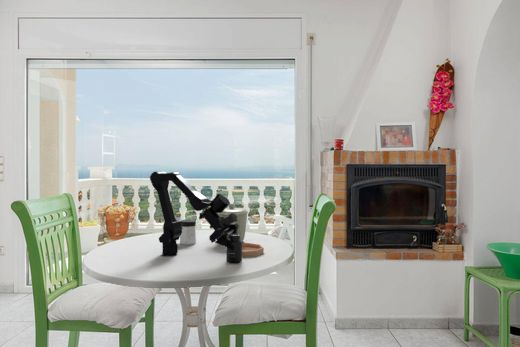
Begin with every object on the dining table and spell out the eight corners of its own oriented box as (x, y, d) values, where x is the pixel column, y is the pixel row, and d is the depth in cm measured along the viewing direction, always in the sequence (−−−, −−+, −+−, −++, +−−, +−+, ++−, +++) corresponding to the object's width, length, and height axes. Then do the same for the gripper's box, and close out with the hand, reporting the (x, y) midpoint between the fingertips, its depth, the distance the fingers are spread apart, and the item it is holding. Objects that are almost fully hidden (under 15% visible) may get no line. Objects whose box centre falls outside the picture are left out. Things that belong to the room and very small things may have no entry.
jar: (183, 245, 189) (182, 222, 188) (177, 242, 195) (177, 220, 195) (199, 243, 194) (199, 221, 193) (193, 240, 200) (192, 218, 200)
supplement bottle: (227, 264, 154) (227, 236, 154) (225, 260, 161) (225, 233, 160) (243, 263, 156) (243, 235, 155) (240, 259, 162) (240, 232, 162)
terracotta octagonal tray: (230, 257, 165) (230, 252, 165) (224, 249, 181) (224, 244, 181) (266, 255, 169) (266, 250, 169) (257, 247, 185) (257, 242, 185)
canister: (222, 237, 209) (222, 200, 208) (252, 239, 204) (252, 201, 203) (209, 244, 191) (209, 204, 190) (242, 246, 186) (242, 205, 186)
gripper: (215, 210, 150) (240, 239, 147) (235, 205, 168) (257, 230, 164) (199, 228, 153) (222, 256, 150) (220, 221, 171) (241, 246, 167)
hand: (237, 246), depth 158 cm, fingers open, 8 cm apart
